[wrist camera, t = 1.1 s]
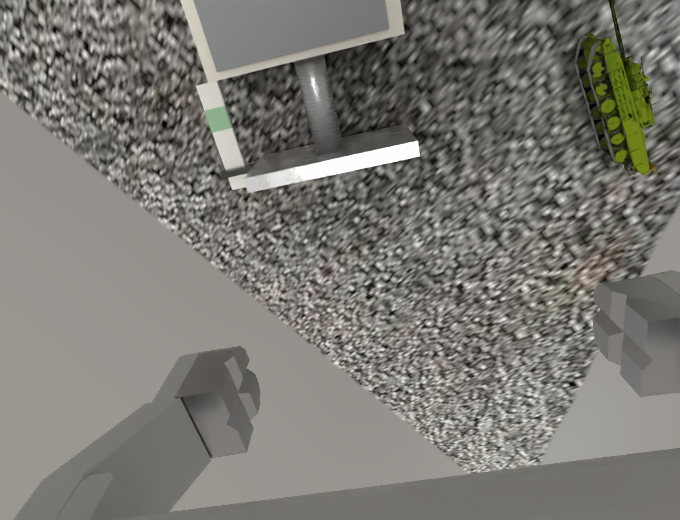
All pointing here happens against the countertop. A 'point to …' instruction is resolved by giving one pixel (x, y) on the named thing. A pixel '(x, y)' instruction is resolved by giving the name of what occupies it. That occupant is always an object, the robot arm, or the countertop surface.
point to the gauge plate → (325, 140)
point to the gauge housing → (274, 45)
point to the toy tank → (616, 100)
